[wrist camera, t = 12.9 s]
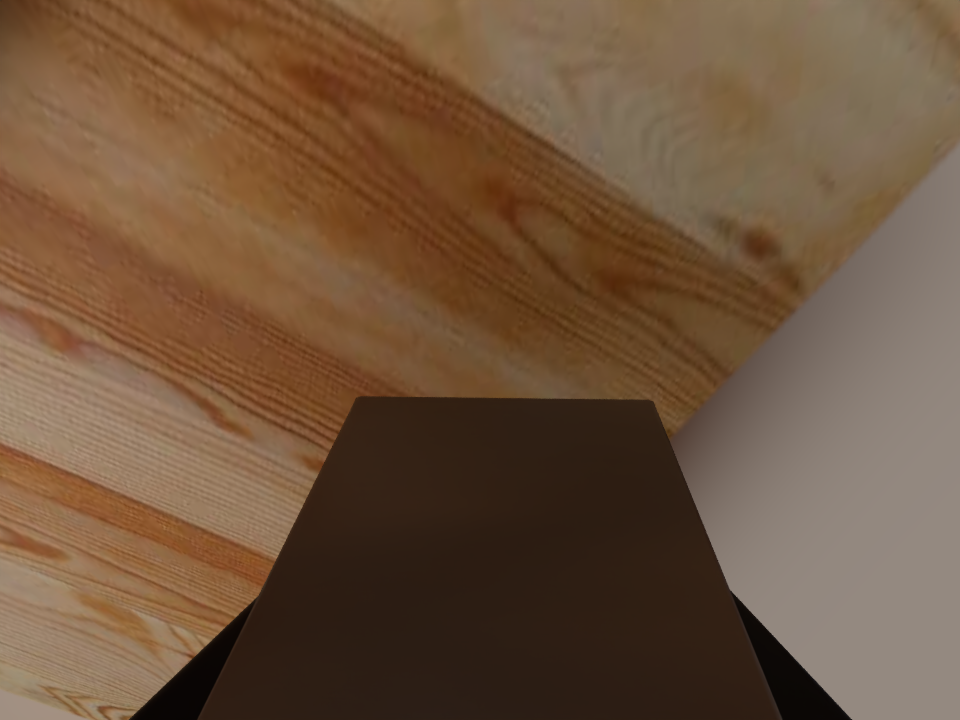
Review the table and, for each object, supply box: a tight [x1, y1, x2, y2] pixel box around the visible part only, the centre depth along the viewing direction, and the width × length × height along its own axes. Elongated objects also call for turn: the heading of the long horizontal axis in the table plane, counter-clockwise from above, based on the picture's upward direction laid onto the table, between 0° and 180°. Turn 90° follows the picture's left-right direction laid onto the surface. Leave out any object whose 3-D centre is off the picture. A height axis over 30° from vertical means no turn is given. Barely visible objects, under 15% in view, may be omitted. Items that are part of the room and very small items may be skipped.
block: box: [197, 396, 782, 720], centre depth 7 cm, size 4×4×5 cm
